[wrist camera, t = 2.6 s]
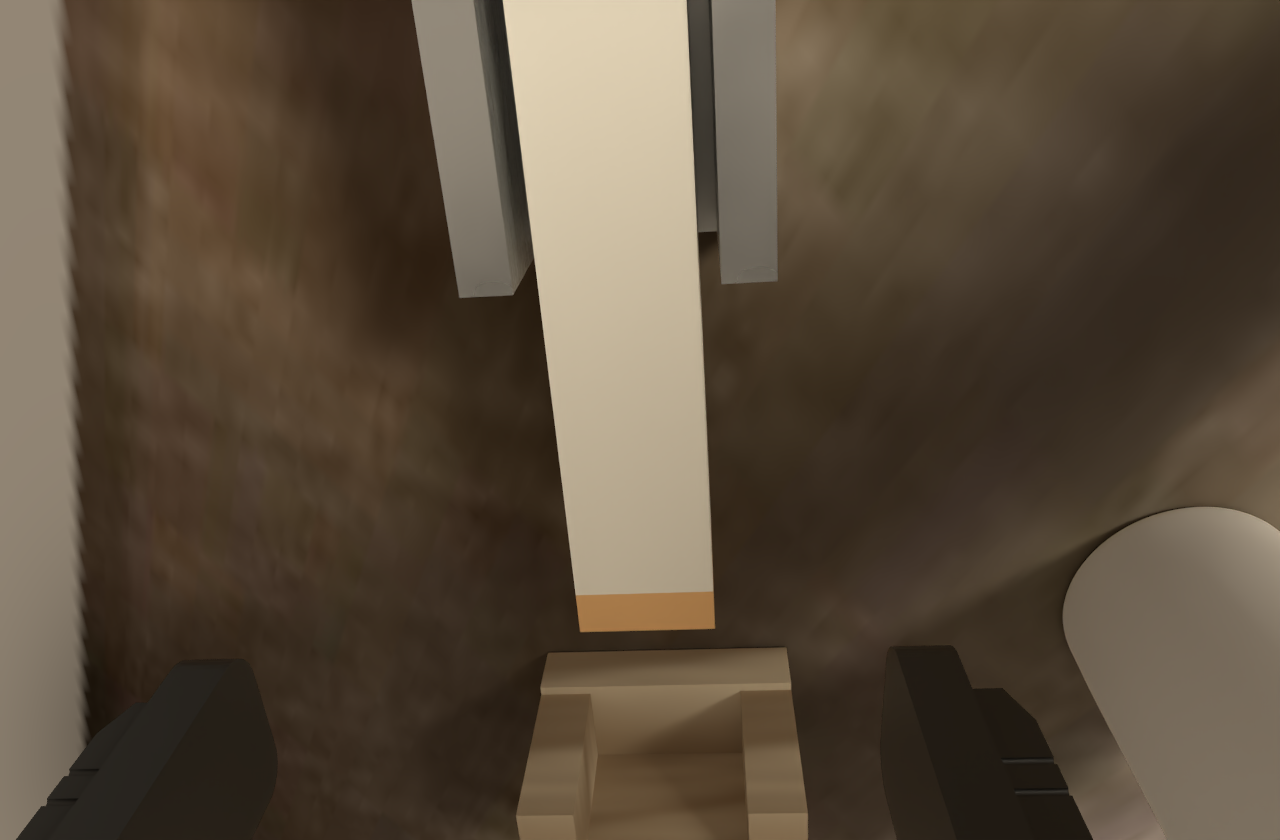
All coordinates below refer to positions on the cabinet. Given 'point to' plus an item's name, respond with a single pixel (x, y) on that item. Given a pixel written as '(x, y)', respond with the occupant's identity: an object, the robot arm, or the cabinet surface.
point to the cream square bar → (620, 299)
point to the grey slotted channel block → (491, 152)
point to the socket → (665, 748)
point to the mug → (1188, 665)
